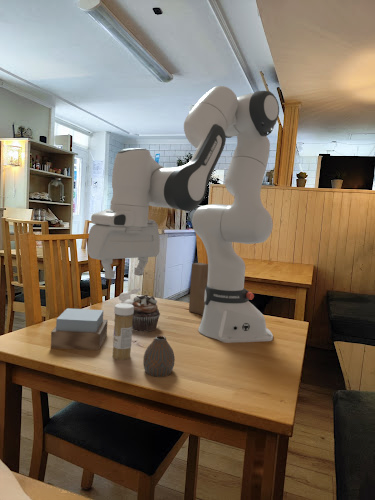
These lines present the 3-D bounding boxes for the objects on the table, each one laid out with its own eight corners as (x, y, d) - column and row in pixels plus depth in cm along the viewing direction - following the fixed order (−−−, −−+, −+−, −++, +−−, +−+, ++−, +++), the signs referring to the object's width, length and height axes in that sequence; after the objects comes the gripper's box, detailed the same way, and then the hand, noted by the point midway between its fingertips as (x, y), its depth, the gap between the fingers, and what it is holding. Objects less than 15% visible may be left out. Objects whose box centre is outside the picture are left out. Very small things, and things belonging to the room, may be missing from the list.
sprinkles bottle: (109, 356, 90) (112, 303, 89) (127, 354, 93) (130, 302, 91) (115, 364, 86) (118, 308, 85) (133, 361, 89) (136, 307, 87)
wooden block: (215, 314, 134) (219, 266, 132) (207, 317, 130) (211, 266, 128) (195, 309, 140) (199, 262, 138) (188, 311, 136) (191, 263, 134)
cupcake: (121, 327, 113) (122, 295, 111) (143, 321, 120) (145, 291, 119) (143, 335, 107) (145, 302, 106) (165, 328, 115) (167, 297, 113)
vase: (169, 384, 78) (172, 344, 77) (138, 380, 79) (140, 340, 78) (176, 371, 85) (178, 334, 84) (147, 367, 86) (149, 330, 85)
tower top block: (102, 320, 103) (103, 310, 103) (96, 332, 93) (96, 321, 93) (66, 318, 103) (67, 308, 102) (56, 330, 93) (56, 318, 92)
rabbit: (116, 312, 128) (117, 286, 127) (136, 311, 131) (138, 285, 130) (123, 321, 119) (125, 292, 118) (145, 319, 122) (147, 291, 121)
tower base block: (106, 336, 105) (107, 319, 104) (99, 353, 93) (99, 334, 93) (63, 334, 104) (64, 317, 104) (50, 351, 92) (51, 331, 92)
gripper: (148, 219, 96) (145, 271, 97) (85, 215, 79) (81, 278, 81) (167, 221, 92) (163, 275, 94) (104, 217, 76) (100, 283, 77)
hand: (124, 276), depth 87 cm, fingers open, 8 cm apart
